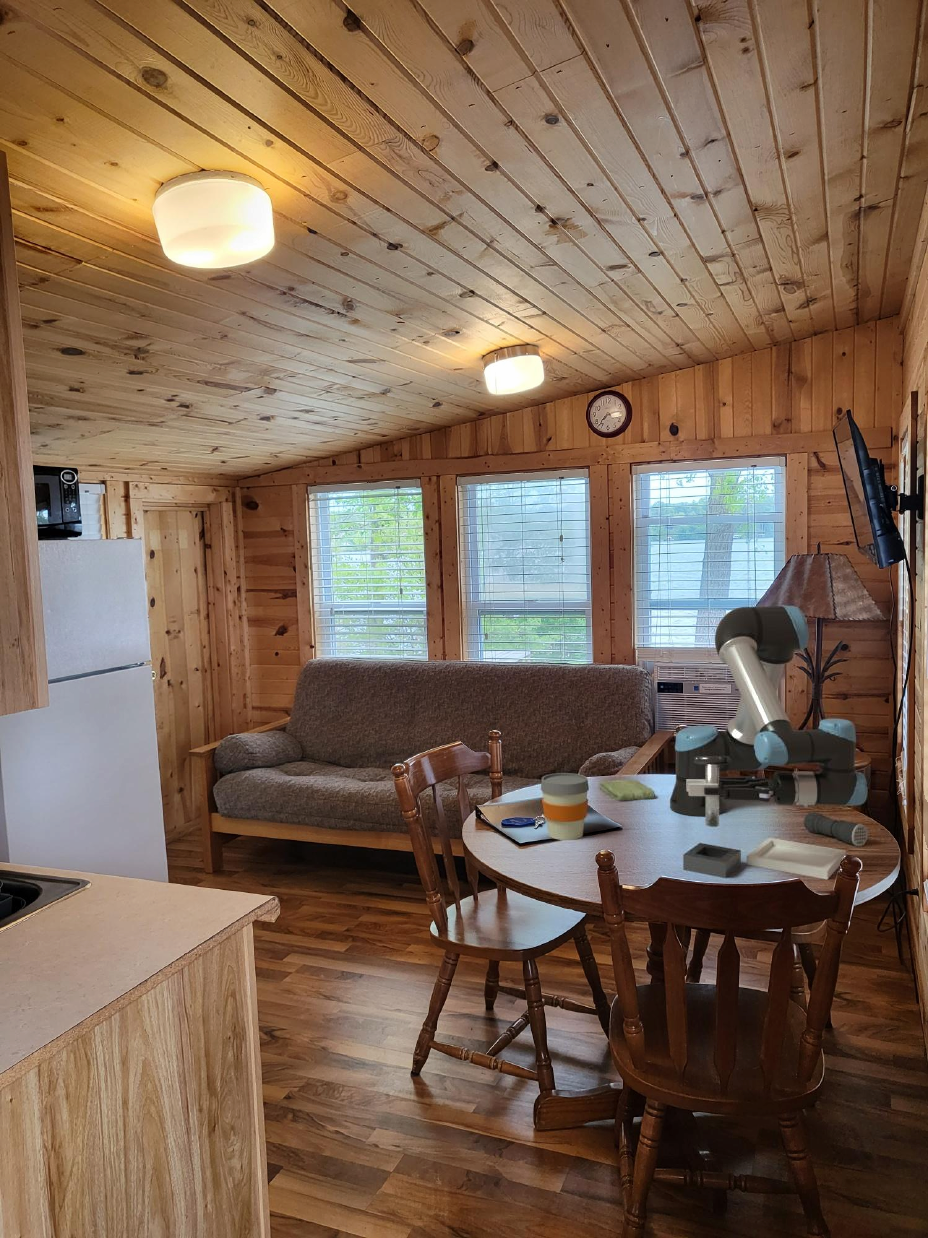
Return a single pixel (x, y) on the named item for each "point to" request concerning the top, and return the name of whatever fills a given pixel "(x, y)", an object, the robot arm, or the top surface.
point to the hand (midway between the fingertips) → (687, 787)
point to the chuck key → (712, 778)
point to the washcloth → (627, 790)
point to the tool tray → (796, 858)
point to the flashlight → (836, 828)
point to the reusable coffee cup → (565, 804)
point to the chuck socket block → (712, 860)
